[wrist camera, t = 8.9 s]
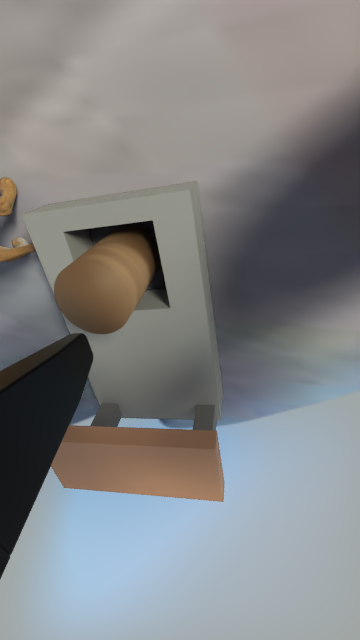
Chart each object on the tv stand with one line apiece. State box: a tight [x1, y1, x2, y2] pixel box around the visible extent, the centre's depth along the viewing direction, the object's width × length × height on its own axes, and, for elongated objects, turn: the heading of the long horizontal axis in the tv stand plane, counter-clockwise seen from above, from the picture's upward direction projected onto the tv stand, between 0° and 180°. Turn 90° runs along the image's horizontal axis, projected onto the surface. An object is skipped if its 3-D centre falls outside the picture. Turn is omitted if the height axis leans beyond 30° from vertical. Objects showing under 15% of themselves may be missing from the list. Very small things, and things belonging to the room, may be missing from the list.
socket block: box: [22, 181, 223, 420], centre depth 22 cm, size 10×17×3 cm, turn 9°
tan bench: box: [51, 403, 224, 502], centre depth 22 cm, size 11×5×9 cm, turn 99°
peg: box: [54, 224, 161, 334], centre depth 18 cm, size 4×4×7 cm
